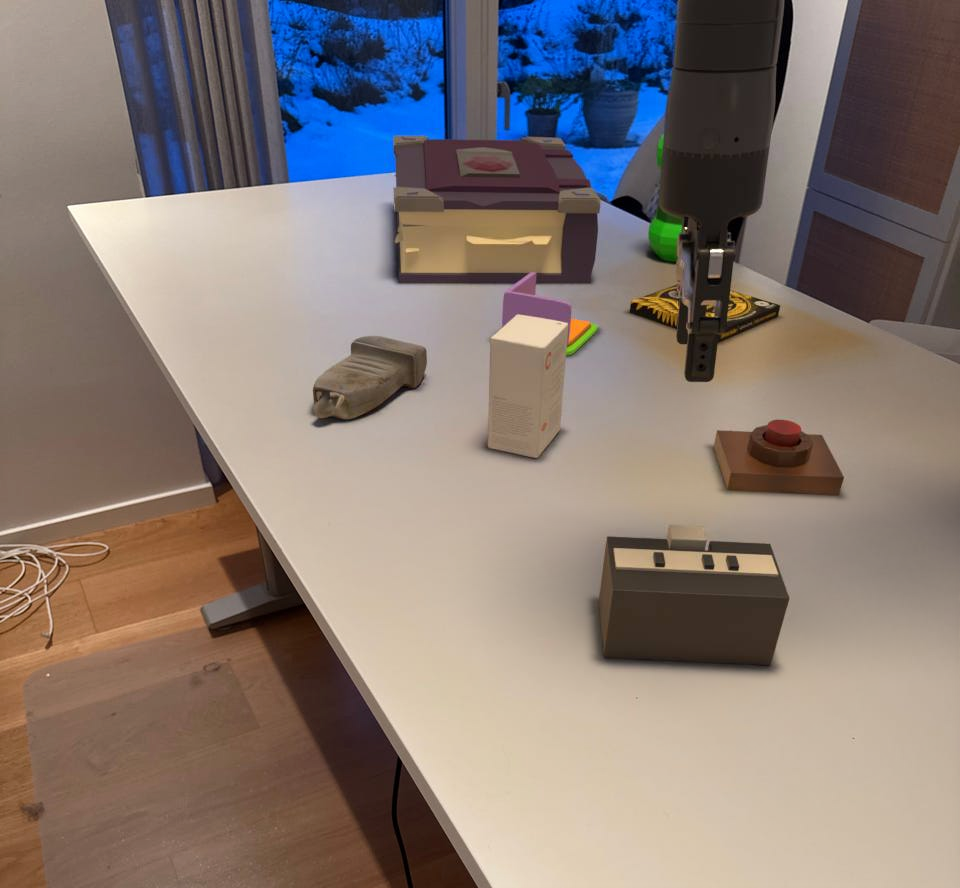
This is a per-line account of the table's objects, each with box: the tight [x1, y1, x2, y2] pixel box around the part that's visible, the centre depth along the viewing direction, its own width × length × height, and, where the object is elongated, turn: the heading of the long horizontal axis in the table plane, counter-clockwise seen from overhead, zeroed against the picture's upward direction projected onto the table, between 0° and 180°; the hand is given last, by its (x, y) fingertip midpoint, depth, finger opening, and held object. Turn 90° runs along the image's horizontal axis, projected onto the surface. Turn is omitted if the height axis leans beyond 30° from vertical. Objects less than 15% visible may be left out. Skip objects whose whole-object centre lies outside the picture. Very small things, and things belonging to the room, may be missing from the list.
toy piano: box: [598, 535, 790, 666], centre depth 81 cm, size 14×8×8 cm, turn 87°
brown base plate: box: [713, 424, 845, 496], centre depth 105 cm, size 12×10×4 cm
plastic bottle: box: [648, 133, 683, 263], centre depth 159 cm, size 10×10×25 cm
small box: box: [487, 314, 568, 459], centre depth 107 cm, size 8×6×13 cm
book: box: [392, 135, 601, 284], centre depth 166 cm, size 33×45×14 cm
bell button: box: [764, 419, 802, 447], centre depth 104 cm, size 4×4×2 cm
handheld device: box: [312, 335, 428, 420], centre depth 118 cm, size 10×20×5 cm, turn 154°
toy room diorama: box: [501, 272, 599, 356], centre depth 135 cm, size 12×12×7 cm
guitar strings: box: [629, 283, 781, 343], centre depth 144 cm, size 16×2×16 cm
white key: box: [666, 524, 707, 550], centre depth 83 cm, size 3×2×2 cm
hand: (693, 360), depth 78 cm, fingers open, 8 cm apart
